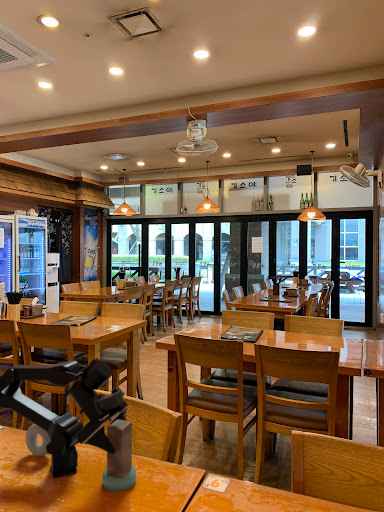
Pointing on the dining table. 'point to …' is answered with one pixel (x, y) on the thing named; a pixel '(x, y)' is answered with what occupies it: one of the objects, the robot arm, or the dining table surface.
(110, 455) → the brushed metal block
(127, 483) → the teal base
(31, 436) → the donut
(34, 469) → the dining table surface
